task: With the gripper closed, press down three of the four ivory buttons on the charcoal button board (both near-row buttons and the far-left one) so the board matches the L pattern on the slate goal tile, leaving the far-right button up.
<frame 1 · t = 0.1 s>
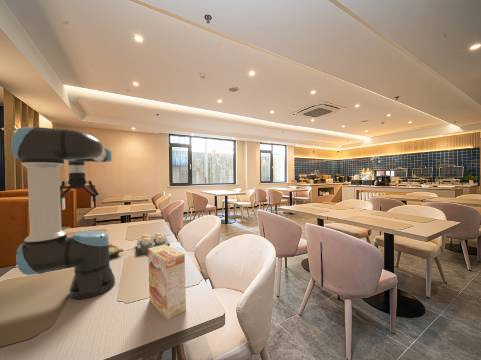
hand: (78, 208, 120), 28 cm above the table, fingers open, 13 cm apart
button D: (145, 238, 132), point 5 cm above the table, slide at 0.0 cm
goal tile: (154, 252, 121), on the table
button C: (158, 236, 136), point 5 cm above the table, slide at 0.0 cm
button B: (146, 242, 125), point 5 cm above the table, slide at 0.0 cm
button A: (160, 239, 129), point 5 cm above the table, slide at 0.0 cm
button board: (152, 247, 131), on the table
puzzle game: (105, 255, 120), on the table
coffeecake box: (167, 305, 71), on the table
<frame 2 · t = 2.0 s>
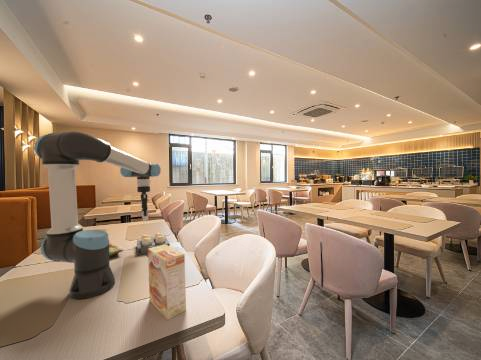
hand: (144, 219, 132), 18 cm above the table, fingers open, 11 cm apart
nothing on the table moved.
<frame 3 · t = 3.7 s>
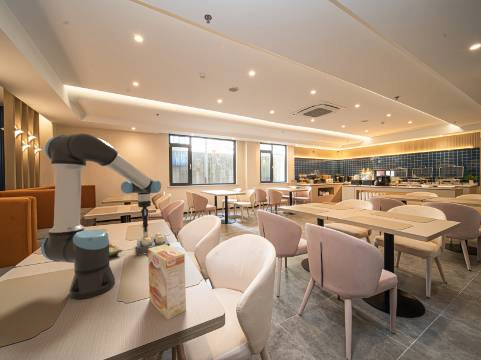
hand: (145, 236, 133), 7 cm above the table, fingers closed
button D: (145, 239, 132), point 5 cm above the table, slide at 0.8 cm, touching gripper
everything else where it was.
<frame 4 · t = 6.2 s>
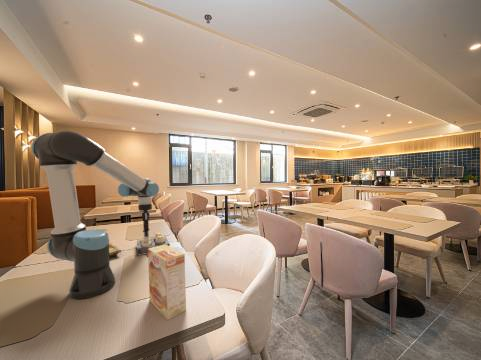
hand: (146, 241, 126), 6 cm above the table, fingers closed
button D: (145, 242, 132), point 3 cm above the table, slide at 2.4 cm
button B: (146, 245, 125), point 3 cm above the table, slide at 1.9 cm, touching gripper
everything else where it was.
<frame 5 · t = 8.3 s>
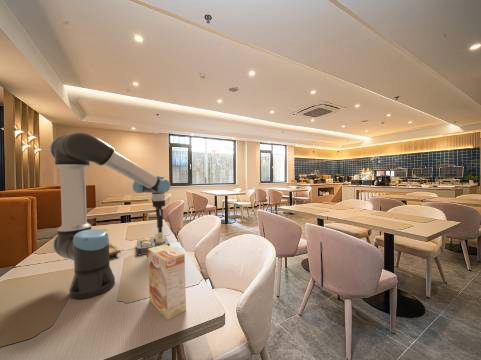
hand: (160, 236, 129), 7 cm above the table, fingers closed
button B: (146, 245, 125), point 3 cm above the table, slide at 2.4 cm
button A: (160, 240, 129), point 5 cm above the table, slide at 0.4 cm, touching gripper
everything else where it was.
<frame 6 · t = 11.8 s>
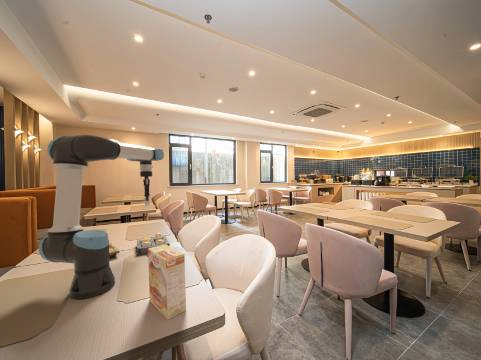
hand: (147, 205, 138), 26 cm above the table, fingers closed
button A: (160, 243, 129), point 3 cm above the table, slide at 2.4 cm
at the end: button A slide at 2.4 cm; button D slide at 2.4 cm; button C slide at 0.0 cm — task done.
